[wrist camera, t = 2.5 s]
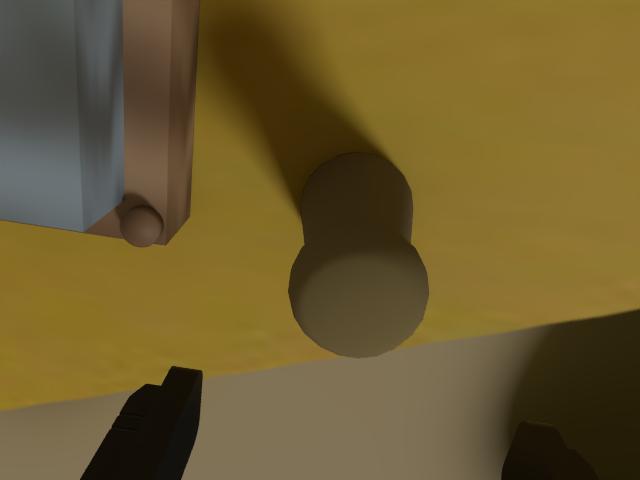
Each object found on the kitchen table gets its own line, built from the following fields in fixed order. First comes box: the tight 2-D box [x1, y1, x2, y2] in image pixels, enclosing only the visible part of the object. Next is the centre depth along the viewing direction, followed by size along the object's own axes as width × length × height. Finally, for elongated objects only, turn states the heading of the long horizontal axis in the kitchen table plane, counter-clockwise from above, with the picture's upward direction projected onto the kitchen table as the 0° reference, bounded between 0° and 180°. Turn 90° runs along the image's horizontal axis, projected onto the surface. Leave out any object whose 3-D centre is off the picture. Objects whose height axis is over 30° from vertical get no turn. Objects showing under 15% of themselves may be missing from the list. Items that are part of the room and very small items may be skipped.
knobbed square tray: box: [0, 0, 200, 247], centre depth 22 cm, size 14×14×8 cm
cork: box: [288, 152, 429, 358], centre depth 23 cm, size 6×6×11 cm
